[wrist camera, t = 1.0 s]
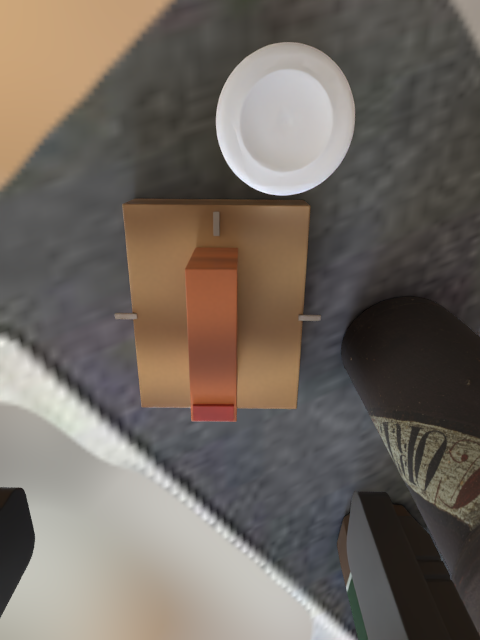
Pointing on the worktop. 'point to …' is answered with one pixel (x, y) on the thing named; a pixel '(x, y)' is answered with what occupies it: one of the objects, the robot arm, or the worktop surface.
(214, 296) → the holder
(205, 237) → the holder base
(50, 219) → the worktop surface
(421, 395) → the container
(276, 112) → the sprinkles bottle
